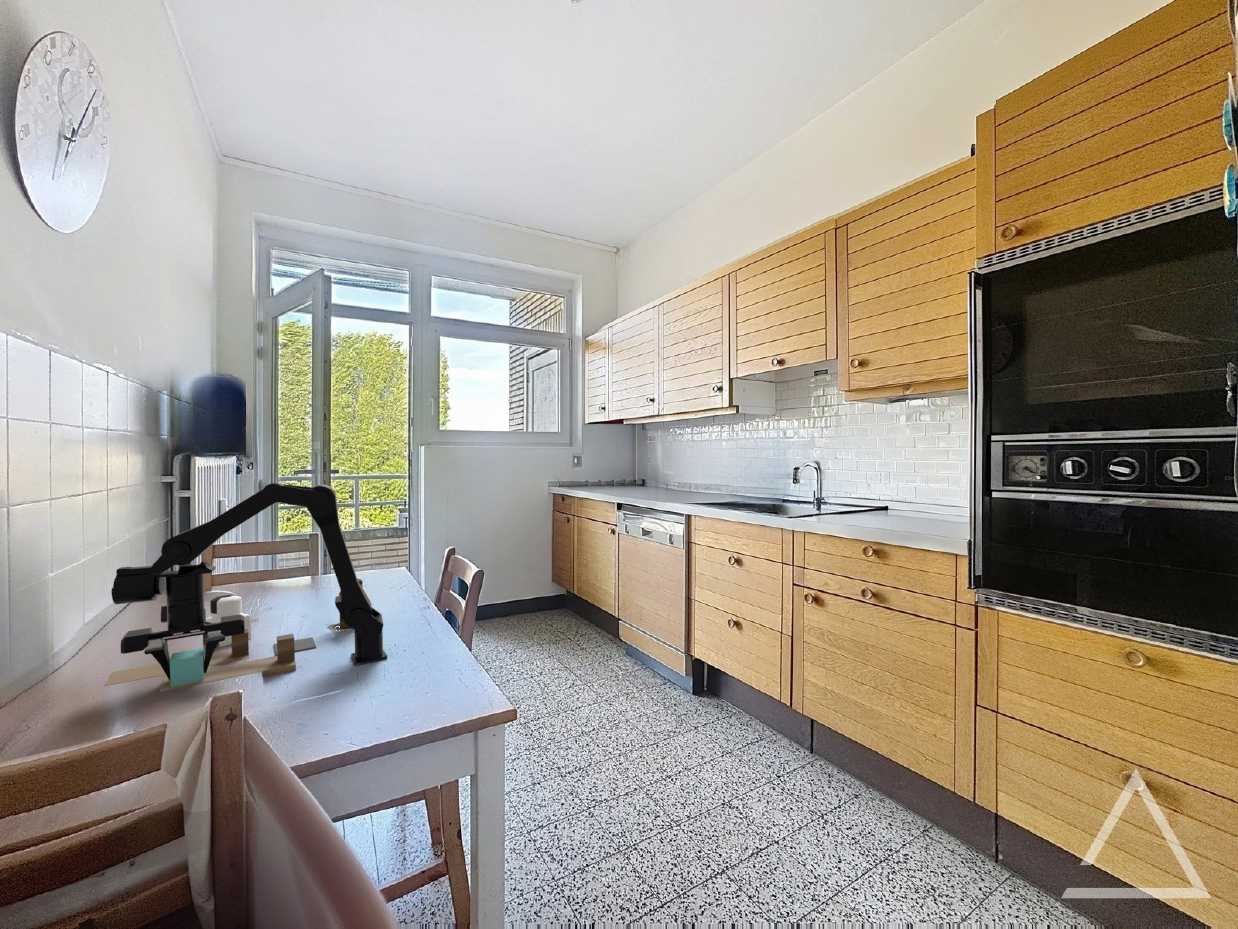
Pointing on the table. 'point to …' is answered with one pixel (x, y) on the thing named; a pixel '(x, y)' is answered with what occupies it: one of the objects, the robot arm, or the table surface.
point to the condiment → (342, 624)
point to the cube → (187, 667)
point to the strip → (250, 665)
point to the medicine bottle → (223, 608)
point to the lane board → (135, 674)
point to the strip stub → (233, 650)
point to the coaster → (301, 645)
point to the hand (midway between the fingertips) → (188, 675)
